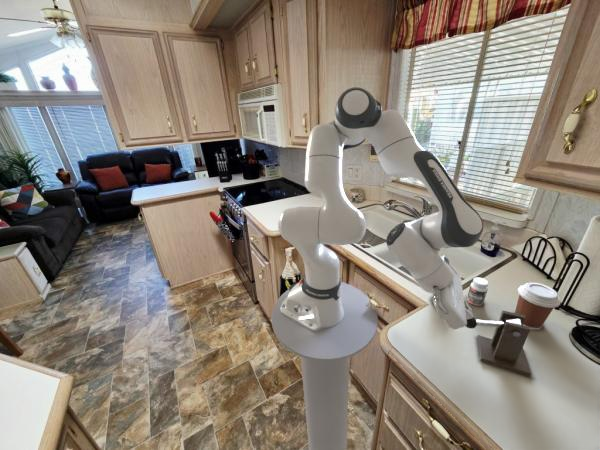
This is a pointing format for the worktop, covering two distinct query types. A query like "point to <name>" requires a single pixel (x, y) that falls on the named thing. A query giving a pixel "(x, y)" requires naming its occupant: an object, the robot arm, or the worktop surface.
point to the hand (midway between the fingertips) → (470, 314)
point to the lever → (490, 322)
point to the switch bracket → (506, 346)
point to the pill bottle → (477, 291)
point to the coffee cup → (536, 303)
